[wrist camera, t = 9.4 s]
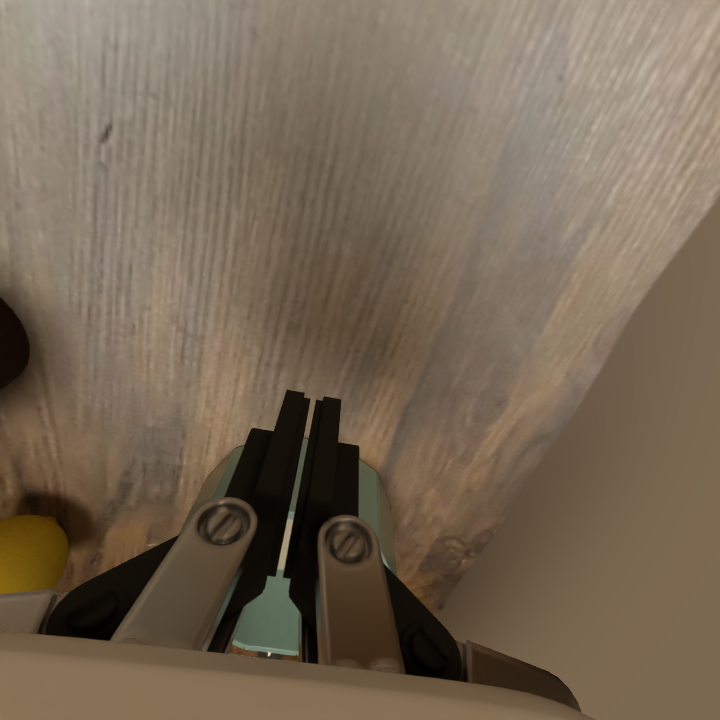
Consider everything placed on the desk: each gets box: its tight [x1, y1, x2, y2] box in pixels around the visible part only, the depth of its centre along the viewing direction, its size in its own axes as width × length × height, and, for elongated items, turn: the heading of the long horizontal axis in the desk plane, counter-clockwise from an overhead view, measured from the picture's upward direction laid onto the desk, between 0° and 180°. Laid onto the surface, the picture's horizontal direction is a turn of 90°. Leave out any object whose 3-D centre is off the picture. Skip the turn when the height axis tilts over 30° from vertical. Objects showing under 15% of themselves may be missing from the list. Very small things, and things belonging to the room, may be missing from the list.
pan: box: [178, 438, 397, 660], centre depth 25 cm, size 20×12×6 cm, turn 168°
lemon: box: [0, 515, 69, 594], centre depth 23 cm, size 6×6×8 cm
